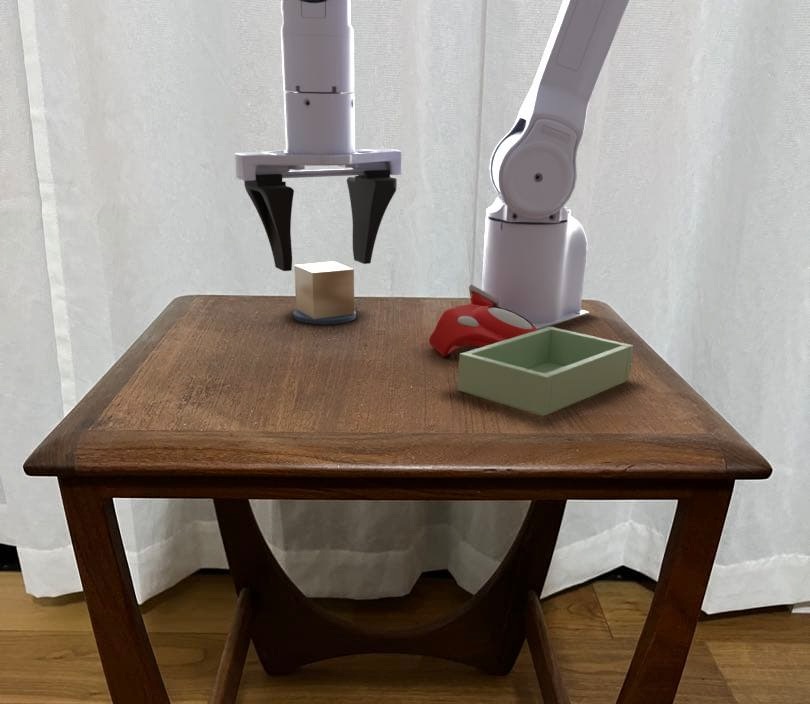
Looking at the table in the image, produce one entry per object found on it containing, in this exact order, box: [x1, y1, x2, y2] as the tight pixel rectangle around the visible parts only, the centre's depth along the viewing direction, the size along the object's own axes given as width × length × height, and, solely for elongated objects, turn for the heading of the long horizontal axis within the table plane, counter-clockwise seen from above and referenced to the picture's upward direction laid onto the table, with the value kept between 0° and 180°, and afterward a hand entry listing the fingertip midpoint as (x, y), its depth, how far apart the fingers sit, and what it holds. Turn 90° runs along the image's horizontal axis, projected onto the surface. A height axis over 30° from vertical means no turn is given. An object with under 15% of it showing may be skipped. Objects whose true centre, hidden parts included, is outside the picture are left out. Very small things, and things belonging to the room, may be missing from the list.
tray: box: [457, 326, 634, 417], centre depth 61 cm, size 11×7×3 cm
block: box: [293, 261, 355, 319], centre depth 78 cm, size 4×4×4 cm
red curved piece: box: [428, 284, 537, 358], centre depth 70 cm, size 12×4×10 cm
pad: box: [293, 309, 357, 325], centre depth 79 cm, size 6×6×1 cm
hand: (323, 265), depth 77 cm, fingers open, 7 cm apart
